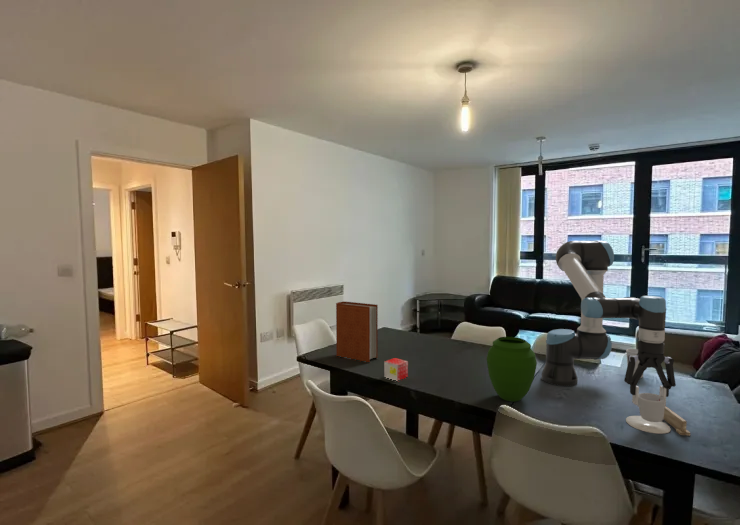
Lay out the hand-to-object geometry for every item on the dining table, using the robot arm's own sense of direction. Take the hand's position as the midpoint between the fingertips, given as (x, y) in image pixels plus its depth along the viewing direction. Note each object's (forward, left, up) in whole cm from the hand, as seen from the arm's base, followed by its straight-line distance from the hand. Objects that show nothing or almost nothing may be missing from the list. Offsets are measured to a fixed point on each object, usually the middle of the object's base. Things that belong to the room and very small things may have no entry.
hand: (648, 404), depth 141 cm
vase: (-44, +17, -8) cm, 47 cm away
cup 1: (+20, +55, -8) cm, 59 cm away
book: (-118, +62, -8) cm, 133 cm away
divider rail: (+8, +5, -7) cm, 12 cm away
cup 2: (0, 0, -5) cm, 5 cm away
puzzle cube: (-93, +34, -8) cm, 99 cm away
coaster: (0, 0, -7) cm, 7 cm away
